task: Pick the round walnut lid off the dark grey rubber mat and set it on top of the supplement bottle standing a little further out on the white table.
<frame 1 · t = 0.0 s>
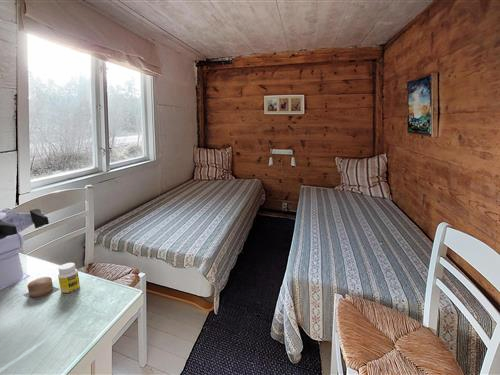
hand: (31, 225, 72), 22 cm above the table, tool horizontal, fingers open, 7 cm apart
supplement bottle: (71, 292, 79), on the table
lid: (41, 291, 78), resting on mat
mat: (42, 293, 78), on the table
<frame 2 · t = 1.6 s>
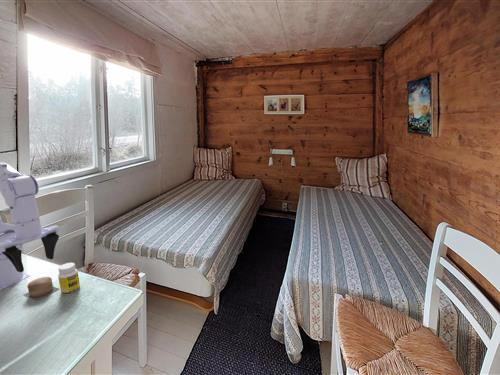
hand: (35, 264, 76), 9 cm above the table, tool pointing down, fingers open, 7 cm apart
nothing on the table moved.
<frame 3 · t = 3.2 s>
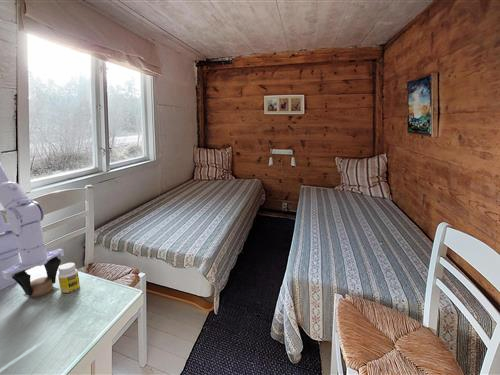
hand: (41, 288, 78), 2 cm above the table, tool pointing down, fingers closed on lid, 6 cm apart
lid: (41, 291, 78), point 1 cm above the table, touching gripper, mat
everything else where it was.
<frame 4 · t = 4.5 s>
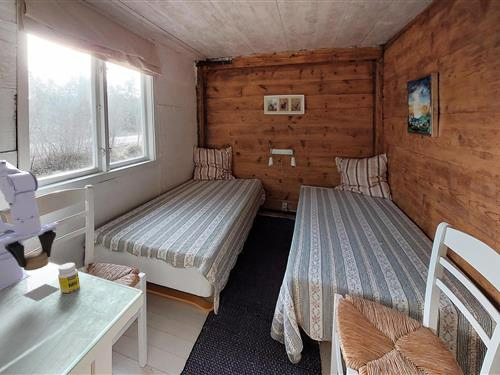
hand: (35, 261, 76), 10 cm above the table, tool pointing down, fingers closed on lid, 6 cm apart
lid: (36, 265, 76), point 9 cm above the table, touching gripper
everything else where it was.
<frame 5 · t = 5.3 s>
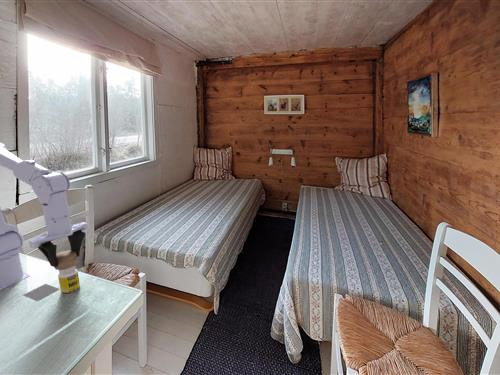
hand: (65, 260, 76), 10 cm above the table, tool pointing down, fingers closed on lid, 6 cm apart
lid: (66, 264, 77), point 9 cm above the table, touching gripper
everything else where it was.
when the fingers open (10 cm above the table, at t = 5.9 s): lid stays where it is, resting on supplement bottle.
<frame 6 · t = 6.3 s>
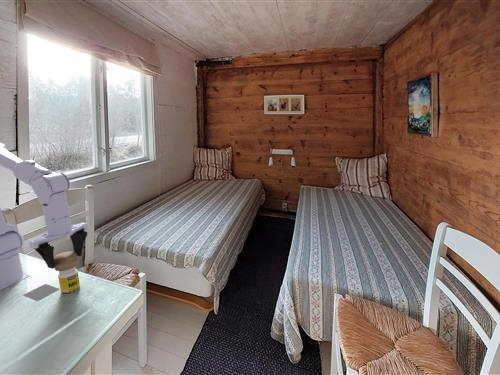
hand: (65, 261, 77), 10 cm above the table, tool pointing down, fingers open, 7 cm apart
supplement bottle: (71, 292, 79), on the table, touching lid
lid: (66, 265, 77), point 8 cm above the table, touching supplement bottle
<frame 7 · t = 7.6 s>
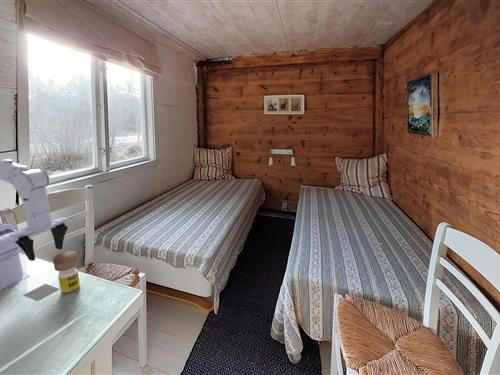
hand: (46, 254, 80), 10 cm above the table, tool pointing down, fingers open, 7 cm apart
nothing on the table moved.
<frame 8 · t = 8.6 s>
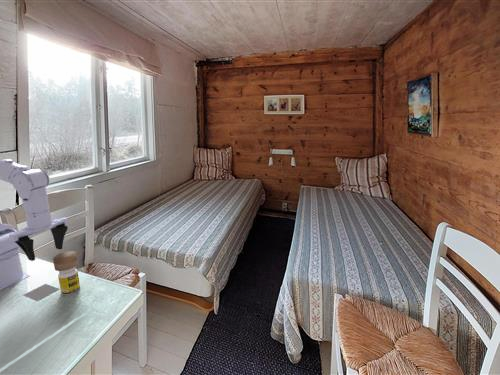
hand: (46, 254, 80), 10 cm above the table, tool pointing down, fingers open, 7 cm apart
nothing on the table moved.
at the end: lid 0.0 cm off-centre on the supplement bottle, point 8.6 cm above the supplement bottle's base; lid tilted 0°; the gripper is holding nothing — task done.
